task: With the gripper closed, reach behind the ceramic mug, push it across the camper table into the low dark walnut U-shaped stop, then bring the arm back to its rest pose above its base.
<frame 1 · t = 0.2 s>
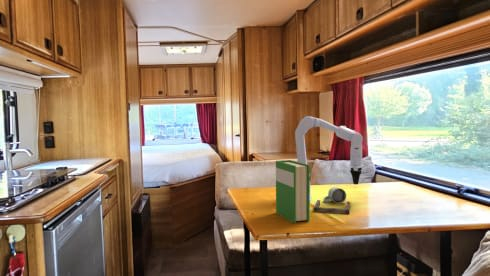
hand: (355, 182, 185), 10 cm above the table, tool pointing down, fingers open, 7 cm apart
ceramic mug: (334, 202, 186), on the table
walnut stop: (332, 208, 173), on the table
hardback book: (292, 217, 160), on the table
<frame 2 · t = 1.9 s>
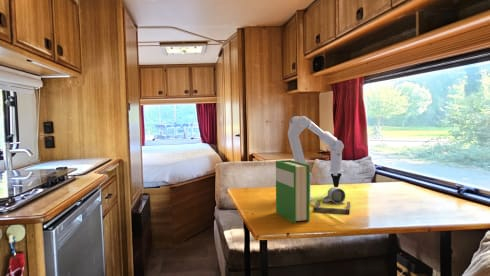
hand: (336, 186, 197), 5 cm above the table, tool pointing down, fingers closed
nothing on the table moved.
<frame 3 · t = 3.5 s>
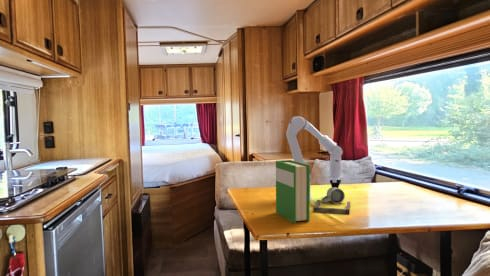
hand: (335, 193, 192), 3 cm above the table, tool pointing down, fingers closed
ceramic mug: (332, 202, 186), on the table, touching gripper
everything else where it was.
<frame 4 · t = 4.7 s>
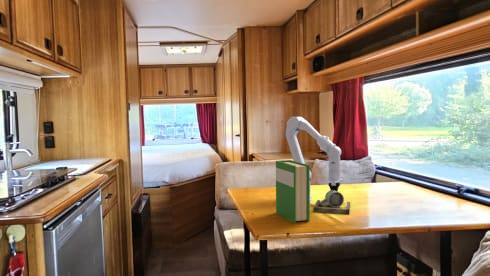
hand: (334, 197, 184), 3 cm above the table, tool pointing down, fingers closed
ceramic mug: (331, 206, 178), on the table, touching gripper
everything else where it was.
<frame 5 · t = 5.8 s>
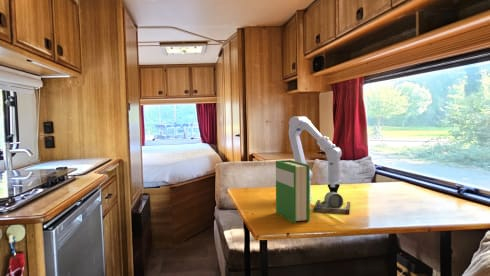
hand: (333, 198, 180), 3 cm above the table, tool pointing down, fingers closed
ceramic mug: (330, 208, 175), on the table, touching gripper
everything else where it was.
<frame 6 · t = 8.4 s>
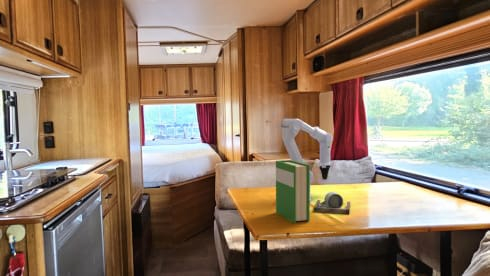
hand: (324, 178, 200), 9 cm above the table, tool pointing down, fingers open, 3 cm apart
ceramic mug: (330, 208, 174), on the table
everything else where it was.
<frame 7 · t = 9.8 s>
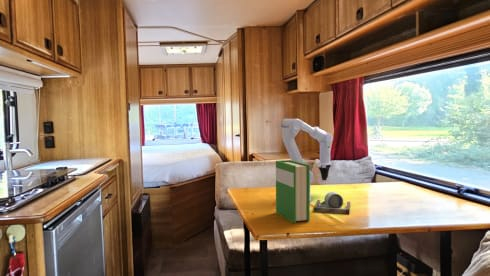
hand: (324, 178, 200), 9 cm above the table, tool pointing down, fingers open, 7 cm apart
nothing on the table moved.
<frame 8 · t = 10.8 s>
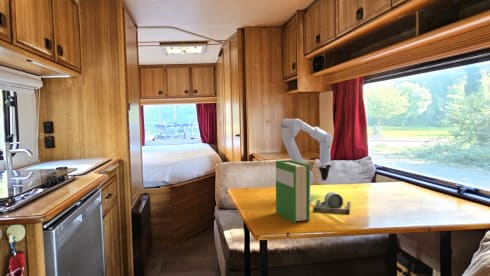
hand: (324, 178, 200), 9 cm above the table, tool pointing down, fingers open, 7 cm apart
nothing on the table moved.
at the end: ceramic mug inside the target area on the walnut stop (1.8 cm from its centre), point 0.0 cm above the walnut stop's base; ceramic mug tilted 1°; ceramic mug moved 13.0 cm from its start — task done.
